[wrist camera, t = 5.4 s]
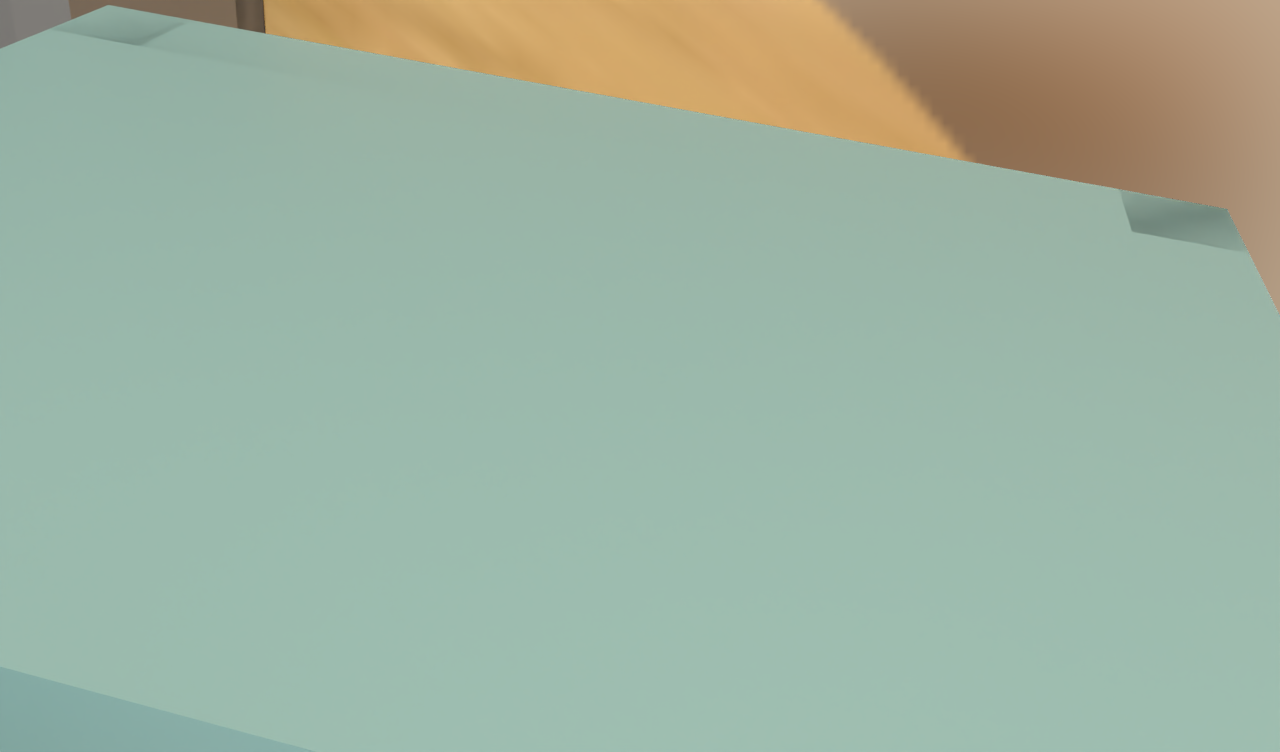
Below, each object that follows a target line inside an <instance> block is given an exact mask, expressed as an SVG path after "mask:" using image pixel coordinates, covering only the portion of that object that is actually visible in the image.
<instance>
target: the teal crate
mask: <svg viewBox="0 0 1280 752" xmlns="http://www.w3.org/2000/svg"><path fill="white" fill-rule="evenodd" d="M0 752H1280V315H1279V313H1278V311H1277V309H1276V307H1275V305H1274V303H1273V301H1272V299H1271V297H1270V295H1269V293H1268V291H1267V289H1266V287H1265V285H1264V283H1263V281H1262V279H1261V277H1260V275H1259V273H1258V271H1257V269H1256V267H1255V264H1254V262H1253V260H1252V259H1251V256H1250V254H1249V252H1248V251H1247V248H1246V246H1245V244H1244V242H1243V240H1242V238H1241V236H1240V234H1239V232H1238V230H1237V228H1236V226H1235V224H1234V222H1233V220H1232V218H1231V216H1230V214H1229V212H1228V210H1227V209H1224V208H1219V207H1213V206H1208V205H1202V204H1197V203H1191V202H1186V201H1180V200H1174V199H1169V198H1164V197H1158V196H1153V195H1147V194H1142V193H1136V192H1131V191H1125V190H1120V189H1115V188H1109V187H1103V186H1098V185H1092V184H1087V183H1081V182H1076V181H1071V180H1065V179H1060V178H1054V177H1049V176H1043V175H1038V174H1032V173H1027V172H1021V171H1016V170H1010V169H1005V168H999V167H994V166H988V165H983V164H978V163H972V162H967V161H961V160H956V159H950V158H945V157H939V156H934V155H928V154H923V153H917V152H912V151H906V150H901V149H895V148H890V147H884V146H879V145H873V144H868V143H862V142H857V141H851V140H846V139H840V138H835V137H829V136H824V135H819V134H813V133H808V132H802V131H797V130H791V129H786V128H780V127H775V126H769V125H764V124H758V123H753V122H747V121H742V120H736V119H731V118H725V117H720V116H714V115H709V114H703V113H698V112H692V111H687V110H681V109H676V108H671V107H665V106H660V105H654V104H649V103H643V102H638V101H632V100H627V99H621V98H616V97H610V96H605V95H599V94H594V93H588V92H583V91H577V90H572V89H566V88H561V87H555V86H550V85H544V84H539V83H533V82H528V81H522V80H517V79H512V78H506V77H501V76H495V75H490V74H484V73H479V72H473V71H468V70H462V69H457V68H451V67H446V66H440V65H435V64H429V63H424V62H418V61H413V60H407V59H402V58H396V57H391V56H385V55H380V54H374V53H369V52H364V51H358V50H353V49H347V48H342V47H336V46H331V45H325V44H320V43H314V42H309V41H303V40H298V39H292V38H287V37H281V36H276V35H270V34H265V33H259V32H254V31H248V30H243V29H237V28H232V27H226V26H221V25H215V24H210V23H205V22H199V21H194V20H188V19H183V18H177V17H172V16H166V15H161V14H155V13H150V12H144V11H139V10H133V9H128V8H122V7H117V6H111V5H107V6H105V7H102V8H100V9H97V10H95V11H92V12H90V13H87V14H85V15H82V16H80V17H77V18H75V19H72V20H70V21H67V22H65V23H63V24H60V25H58V26H55V27H53V28H50V29H48V30H45V31H43V32H40V33H38V34H35V35H33V36H30V37H28V38H25V39H23V40H21V41H18V42H16V43H13V44H11V45H8V46H6V47H3V48H1V49H0Z"/></svg>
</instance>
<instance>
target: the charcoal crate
mask: <svg viewBox="0 0 1280 752" xmlns="http://www.w3.org/2000/svg"><path fill="white" fill-rule="evenodd" d="M107 5H111V6H117V7H122V8H128V9H133V10H139V11H144V12H150V13H155V14H161V15H166V16H172V17H177V18H183V19H188V20H194V21H199V22H205V23H210V24H215V25H221V26H226V27H232V28H237V29H243V30H248V31H254V32H259V33H265V25H264V11H263V0H0V49H1V48H3V47H6V46H8V45H11V44H13V43H16V42H18V41H21V40H23V39H25V38H28V37H30V36H33V35H35V34H38V33H40V32H43V31H45V30H48V29H50V28H53V27H55V26H58V25H60V24H63V23H65V22H67V21H70V20H72V19H75V18H77V17H80V16H82V15H85V14H87V13H90V12H92V11H95V10H97V9H100V8H102V7H105V6H107Z"/></svg>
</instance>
